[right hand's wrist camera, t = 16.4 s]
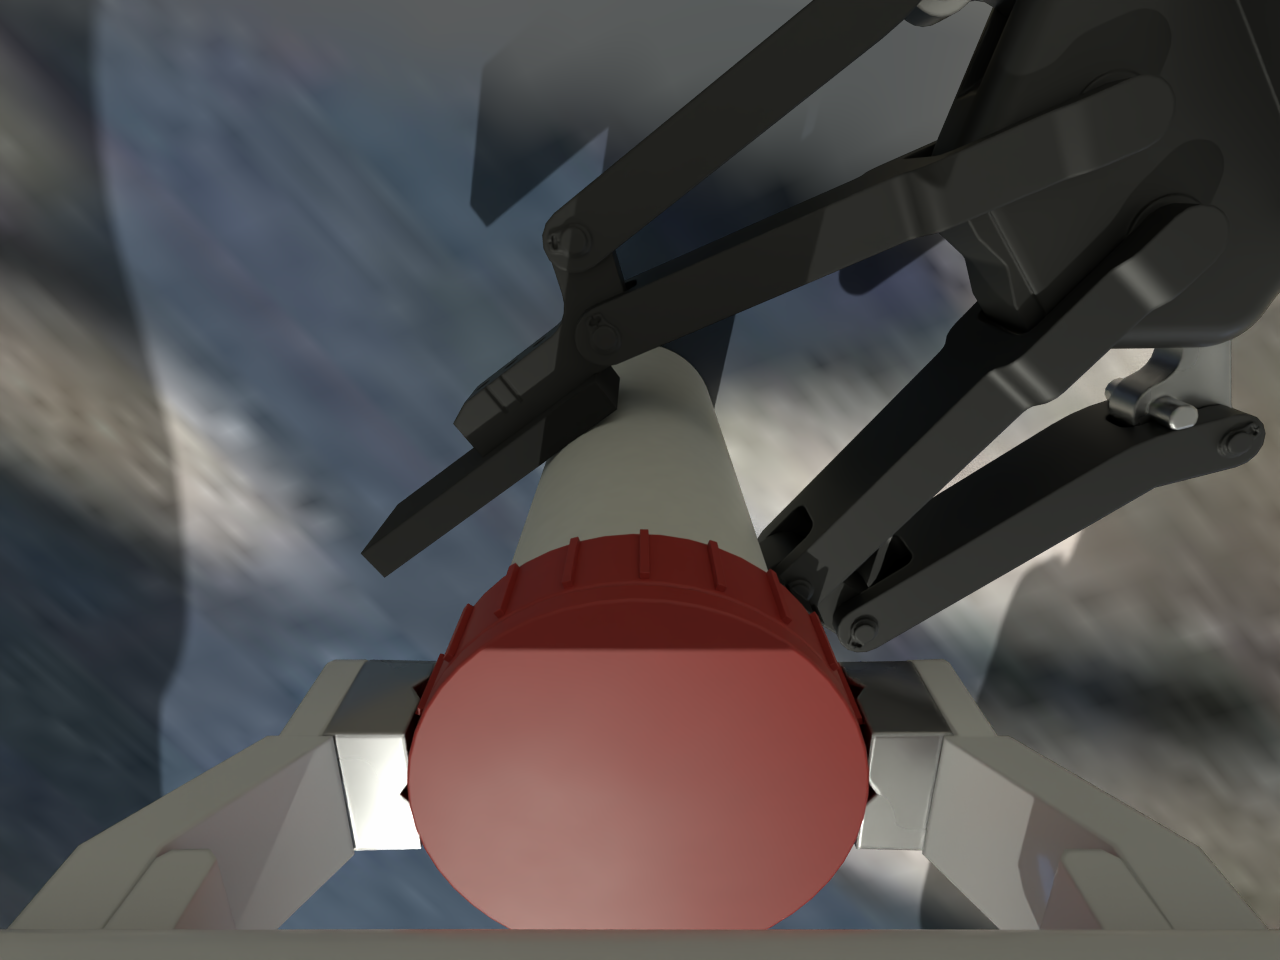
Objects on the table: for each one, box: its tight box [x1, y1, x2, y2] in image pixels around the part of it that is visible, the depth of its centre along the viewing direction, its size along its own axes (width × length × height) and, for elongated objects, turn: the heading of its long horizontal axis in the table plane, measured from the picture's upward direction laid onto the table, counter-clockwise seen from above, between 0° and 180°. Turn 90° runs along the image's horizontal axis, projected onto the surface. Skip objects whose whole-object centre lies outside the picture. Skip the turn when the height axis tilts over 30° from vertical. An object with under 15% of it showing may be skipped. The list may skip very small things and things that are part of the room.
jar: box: [511, 347, 768, 572], centre depth 16 cm, size 5×5×15 cm
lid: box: [407, 529, 869, 930], centre depth 10 cm, size 6×6×2 cm
